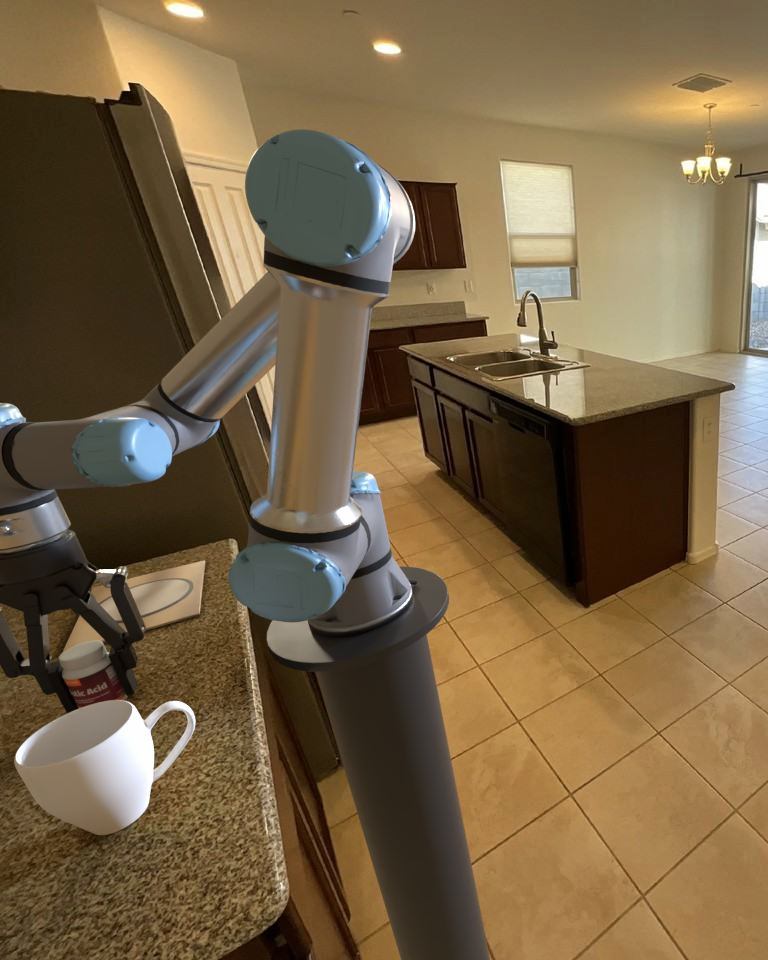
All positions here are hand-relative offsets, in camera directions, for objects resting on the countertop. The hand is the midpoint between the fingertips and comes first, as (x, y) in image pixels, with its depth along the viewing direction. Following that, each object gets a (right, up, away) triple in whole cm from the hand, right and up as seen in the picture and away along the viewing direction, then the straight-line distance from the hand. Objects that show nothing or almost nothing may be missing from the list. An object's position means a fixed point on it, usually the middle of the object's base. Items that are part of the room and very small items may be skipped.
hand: (104, 697), depth 68 cm
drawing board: (-16, +7, +22) cm, 28 cm away
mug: (+18, -6, -13) cm, 23 cm away
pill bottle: (0, -1, 0) cm, 1 cm away
